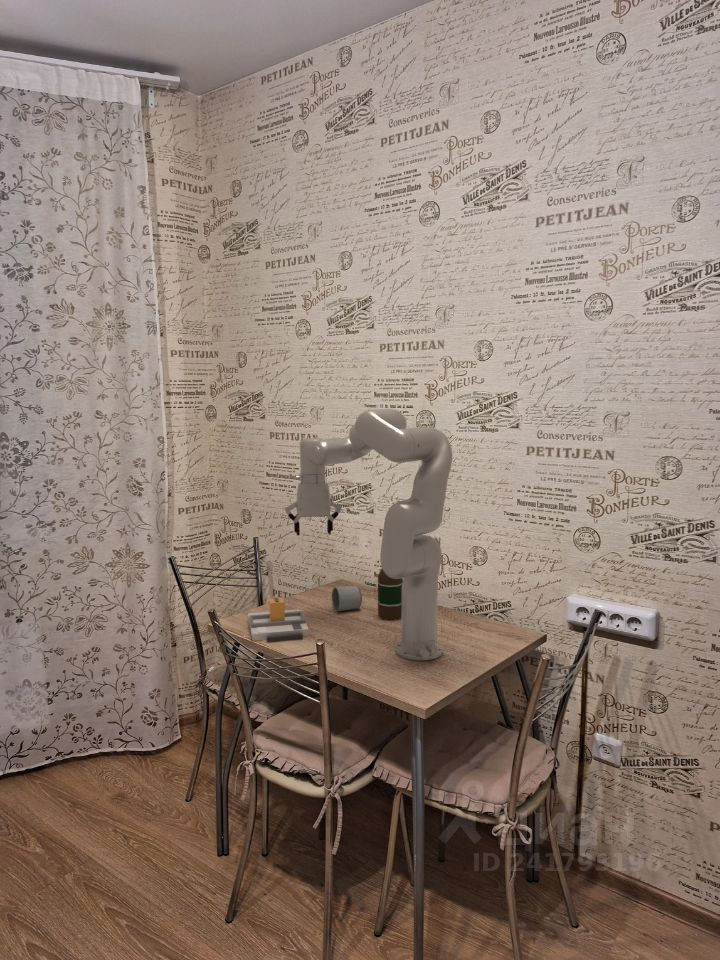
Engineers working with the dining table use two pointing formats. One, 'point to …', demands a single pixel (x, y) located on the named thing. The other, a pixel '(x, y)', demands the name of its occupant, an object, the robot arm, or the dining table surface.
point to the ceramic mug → (346, 598)
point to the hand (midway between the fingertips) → (313, 533)
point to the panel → (276, 624)
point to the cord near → (284, 637)
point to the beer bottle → (389, 597)
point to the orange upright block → (276, 609)
